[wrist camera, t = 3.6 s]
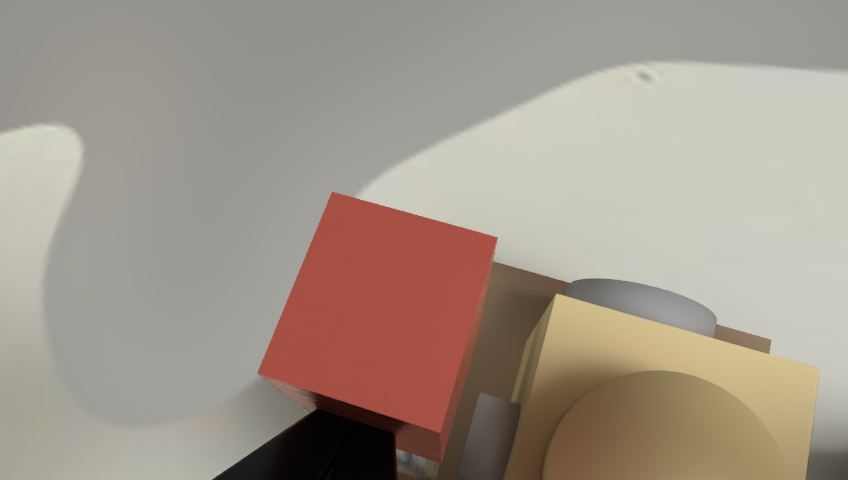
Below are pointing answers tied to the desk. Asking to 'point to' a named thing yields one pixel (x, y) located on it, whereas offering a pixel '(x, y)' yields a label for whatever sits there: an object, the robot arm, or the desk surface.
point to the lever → (384, 324)
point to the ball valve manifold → (622, 389)
